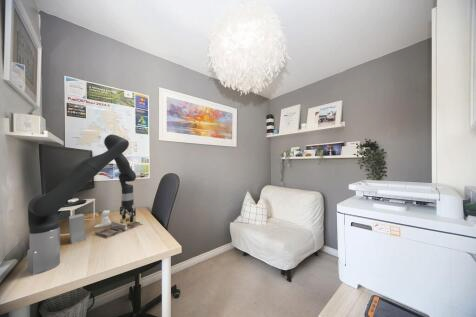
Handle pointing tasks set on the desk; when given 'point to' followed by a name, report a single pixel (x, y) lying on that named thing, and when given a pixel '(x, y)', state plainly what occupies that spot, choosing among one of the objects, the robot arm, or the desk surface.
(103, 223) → the white creature statuette
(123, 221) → the stop bar
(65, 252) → the desk surface
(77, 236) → the skincare box
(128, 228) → the lock board
